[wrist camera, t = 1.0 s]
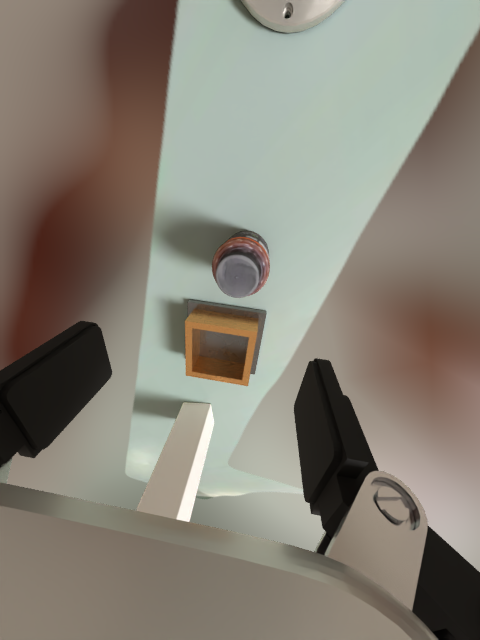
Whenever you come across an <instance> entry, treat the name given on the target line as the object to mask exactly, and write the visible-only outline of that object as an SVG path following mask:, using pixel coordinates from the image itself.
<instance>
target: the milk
mask: <svg viewBox="0 0 480 640" xmlns="http://www.w3.org/2000/svg"><path fill="white" fill-rule="evenodd" d="M213 426H214V419H213V413H212V408H211V404H207V403H188V402H184V403H183V405H182V407H181V409H180V411H179V414H178V416H177V418H176V420H175V423H174V425H173V427H172V430H171V432H170V434H169V436H168V439H167V441H166V443H165V445H164V448H163V450H162V452H161V455H160V457H159V459H158V461H157V464H156V466H155V468H154V470H153V473H152V475H151V477H150V480H149V482H148V484H147V487H146V489H145V491H144V493H143V495H142V498H141V500H140V502H139V505H138V507H137V509H136V511H140V512H145V513H149V514H154V515H159V516H163V517H168V518H173V519H177V520H182V521H187V522H189V521H190V517H191V513H192V509H193V505H194V501H195V497H196V493H197V489H198V485H199V481H200V477H201V473H202V469H203V465H204V461H205V458H206V454H207V450H208V446H209V442H210V438H211V434H212V430H213Z"/></svg>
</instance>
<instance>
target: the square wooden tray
mask: <svg viewBox="0 0 480 640" xmlns="http://www.w3.org/2000/svg"><path fill="white" fill-rule="evenodd" d="M265 318H266V311H264V310H257V309H251V308H244V307H237V306H231V305H224V304H218V303H211V302H205V301H198V300H191V299H190V300H189V301H188V318H187V319H186V320H185V349H186V376H192V377H198V378H204V379H210V380H215V381H221V382H227V383H233V384H239V385H244V386H248V383H249V377H250V374H255V370H256V365H257V360H258V355H259V349H260V344H261V339H262V334H263V328H264V323H265Z"/></svg>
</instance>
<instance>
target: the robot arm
mask: <svg viewBox="0 0 480 640" xmlns="http://www.w3.org/2000/svg"><path fill="white" fill-rule="evenodd" d="M241 1H242V3H243V4H244V5H245V7H246V8H247V9H248V11H249V12H250V13H251V15H252V16H253V17H254V18H256V19H257V20H258V21H259V22H260V23H262V24H263V25H264V26H266V27H268V28H271V29H273V30H275V31H280V32H286V33H292V32H299V31H304V30H306V29H309V28H311V27H314V26H316V25H318V24H319V23H321V22H322V21H323V20H325V19H326V18H328V17H329V16H331V15H332V14H333V13H334V12H335V11H336V10H337V9H338V8H339V7H340V6H341V5H342V4H343V3H344V2H345V0H241ZM287 15H289V16H290V18H288V19H286V18H285V17H286V16H287ZM111 375H112V369H111V365H110V362H109V358H108V354H107V350H106V346H105V342H104V339H103V335H102V331H101V329H100V327H98V325H97V324H96V323H92V322H85V321H80V322H78V323H76V324H75V325H73V326H71V327H70V328H68V329H67V330H65V331H63V332H62V333H60V334H59V335H57V336H55V337H54V338H52V339H50V340H49V341H47V342H46V343H44V344H42V345H41V346H39V347H38V348H36V349H34V350H33V351H31V352H30V353H28V354H26V355H25V356H23V357H22V358H20V359H19V360H17V361H15V362H14V363H12V364H11V365H9V366H7V367H5V368H4V369H2V370H1V371H0V640H480V572H479V571H477V570H476V569H475V568H474V567H473V566H472V565H471V564H470V563H469V562H468V561H466V560H465V559H464V558H463V557H462V556H461V555H460V554H459V553H458V552H456V551H455V550H454V549H453V548H452V547H451V546H450V545H449V544H448V543H447V542H446V541H444V540H443V539H442V538H441V537H440V536H439V535H438V534H437V533H436V532H435V531H433V530H432V529H431V528H430V527H429V526H428V524H427V518H426V514H425V511H424V509H423V507H422V505H421V503H420V502H419V500H418V498H417V497H416V496H415V494H414V493H413V492H412V491H411V490H410V488H408V487H407V486H406V485H405V484H404V483H403V482H402V481H401V480H399V479H398V478H396V477H394V476H393V475H391V474H388V473H386V472H384V471H379V470H378V468H377V466H376V463H375V461H374V458H373V456H372V453H371V451H370V449H369V446H368V443H367V441H366V438H365V436H364V434H363V431H362V429H361V426H360V424H359V421H358V419H357V416H356V414H355V411H354V409H353V407H352V404H351V402H350V400H349V398H348V397H347V396H345V395H343V393H342V391H341V388H340V386H339V383H338V381H337V378H336V375H335V373H334V370H333V367H332V365H331V362H330V361H329V360H322V359H314V361H310V362H309V364H308V366H307V369H306V372H305V375H304V378H303V381H302V384H301V387H300V390H299V392H298V395H297V398H296V401H295V405H294V414H295V423H296V432H297V440H298V448H299V457H300V466H301V474H302V483H303V492H304V498H305V501H306V502H308V503H310V509H311V514H315V515H320V516H321V521H322V526H323V529H324V530H325V532H324V534H323V536H322V538H321V539H320V541H319V543H318V545H317V547H316V549H315V551H314V552H312V551H309V550H305V549H302V548H299V547H295V546H292V545H288V544H284V543H279V542H275V541H271V540H267V539H263V538H258V537H254V536H250V535H246V534H242V533H237V532H233V531H228V530H223V529H219V528H214V527H210V526H205V525H201V524H196V523H191V522H187V521H182V520H177V519H173V518H168V517H163V516H159V515H154V514H149V513H145V512H140V511H135V510H130V509H126V508H121V507H116V506H111V505H106V504H102V503H96V502H92V501H87V500H82V499H78V498H73V497H68V496H63V495H58V494H54V493H49V492H44V491H39V490H34V489H29V488H24V487H19V486H14V485H10V484H6V483H7V479H8V474H9V469H10V465H11V461H12V457H13V456H14V455H15V454H16V452H18V453H19V454H20V455H21V456H26V457H31V458H35V457H36V456H37V455H38V453H39V452H40V451H41V450H42V449H45V448H46V447H48V446H49V445H50V444H51V443H52V442H53V440H54V439H55V438H56V437H57V436H58V435H59V434H60V433H61V432H62V431H63V430H64V428H65V427H66V426H67V425H68V424H69V423H70V422H71V421H72V420H73V419H74V418H75V416H76V415H77V414H78V413H79V412H80V411H81V410H82V409H83V408H84V407H85V405H86V404H87V403H88V402H89V401H90V400H91V399H92V398H93V397H94V395H95V394H96V393H97V392H98V391H99V390H100V389H101V388H102V387H103V386H104V385H105V383H106V382H107V381H108V380H109V379H110V377H111Z"/></svg>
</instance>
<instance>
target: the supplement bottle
mask: <svg viewBox="0 0 480 640" xmlns="http://www.w3.org/2000/svg"><path fill="white" fill-rule="evenodd" d="M269 269H270V264H269V250H268V247H267V244H266V242H265V241H264V239H263V238H262V237H261V236H260V235H258V234H257V233H254V232H252V231H242V232H239V233H236V234H235V235H233V236H232V237H231V238H230V239H229V240H227V241H226V242H225V243H224V244H223V245H221V246H220V247H219V249H218V250H217V251H216V253H215V255H214V258H213V262H212V272H213V276H214V279H215V281H216V283H217V284H218V286H219V288H220V289H221V290H222V291H223V292H224V293H225V294H227V295H228V296H231V297H235V298H241V297H245V296H250V295H252V294H255V293H256V292H258V291H259V290H260V289H261V288H262V287H263V286H264V284H265V283H266V281H267V278H268V275H269Z"/></svg>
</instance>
